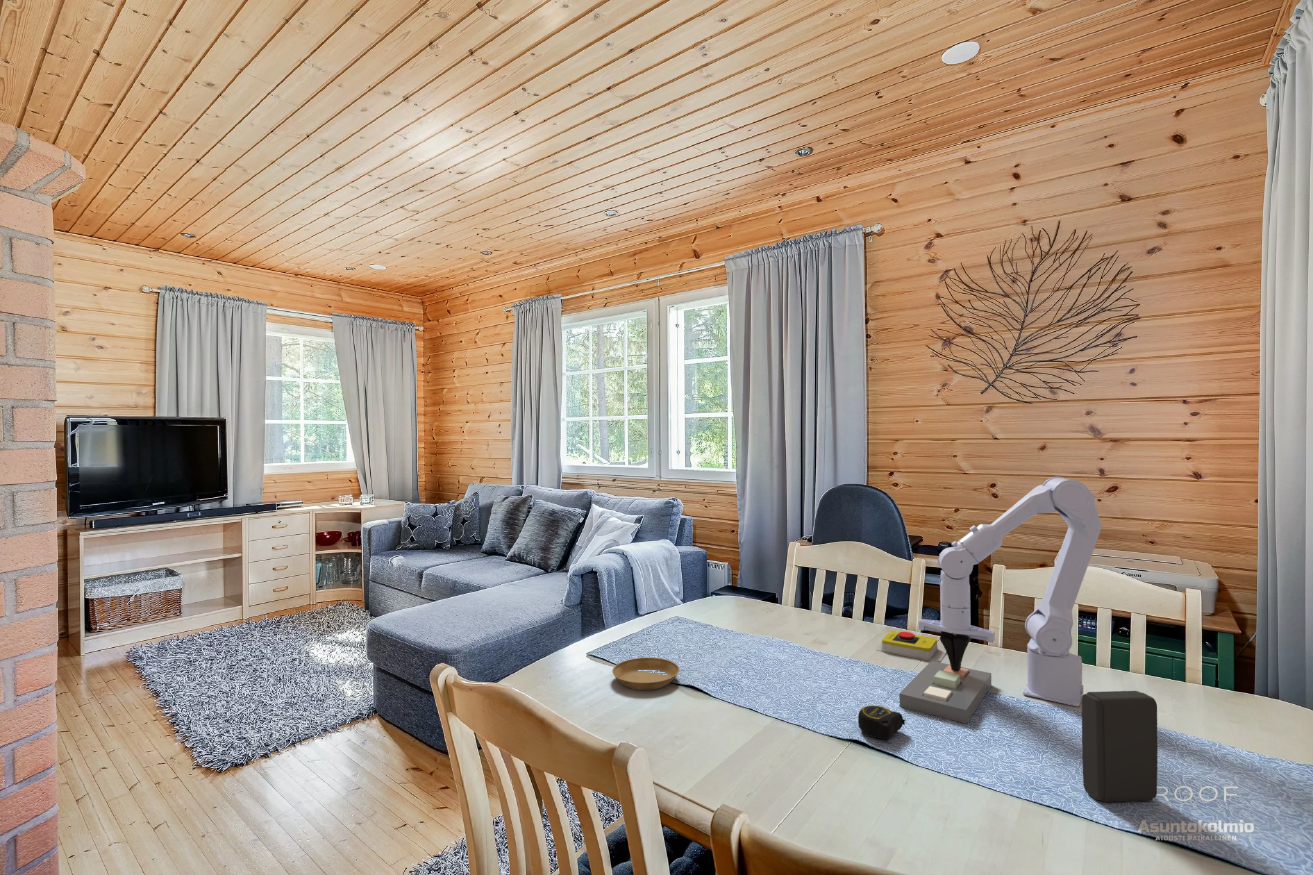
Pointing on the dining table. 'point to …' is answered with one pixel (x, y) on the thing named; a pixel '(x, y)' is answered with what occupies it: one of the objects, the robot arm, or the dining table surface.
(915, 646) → the emergency button
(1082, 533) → the robot arm
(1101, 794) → the dark brown upright block
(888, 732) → the tape measure
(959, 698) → the button panel
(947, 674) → the sage button
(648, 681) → the plant saucer
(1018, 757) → the dining table surface
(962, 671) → the terracotta button
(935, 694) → the cream button
